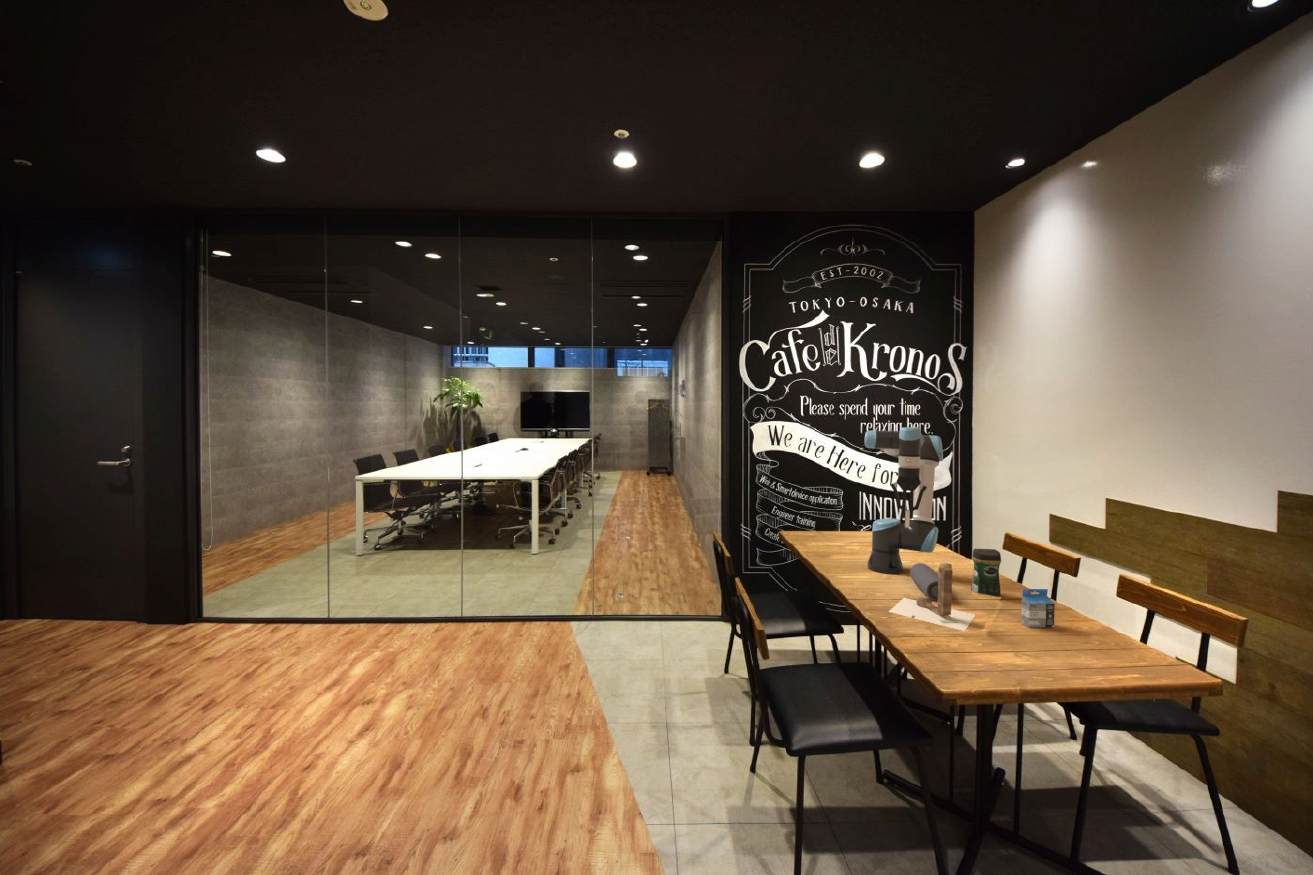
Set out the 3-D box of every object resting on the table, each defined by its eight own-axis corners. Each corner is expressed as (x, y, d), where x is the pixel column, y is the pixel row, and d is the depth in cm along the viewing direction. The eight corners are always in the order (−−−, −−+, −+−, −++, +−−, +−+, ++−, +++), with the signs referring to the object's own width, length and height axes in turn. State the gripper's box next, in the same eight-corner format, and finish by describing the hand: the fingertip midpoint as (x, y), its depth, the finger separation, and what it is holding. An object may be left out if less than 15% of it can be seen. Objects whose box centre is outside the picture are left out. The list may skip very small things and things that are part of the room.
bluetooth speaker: (951, 606, 194) (952, 580, 194) (924, 604, 196) (925, 578, 196) (931, 585, 217) (932, 562, 216) (908, 584, 218) (908, 561, 218)
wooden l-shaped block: (913, 602, 193) (915, 553, 192) (926, 602, 194) (927, 552, 193) (942, 620, 177) (944, 567, 176) (956, 620, 177) (958, 566, 176)
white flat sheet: (888, 615, 185) (888, 611, 185) (903, 601, 199) (903, 597, 199) (964, 635, 169) (964, 630, 169) (975, 618, 183) (975, 614, 182)
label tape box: (1028, 628, 175) (1030, 592, 174) (1020, 623, 179) (1021, 588, 179) (1054, 628, 175) (1056, 592, 174) (1045, 623, 179) (1047, 588, 178)
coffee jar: (993, 591, 209) (995, 547, 208) (1003, 599, 202) (1005, 552, 200) (967, 590, 211) (969, 546, 210) (976, 597, 203) (978, 551, 202)
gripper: (890, 467, 199) (888, 526, 201) (928, 469, 194) (926, 530, 195) (891, 465, 206) (889, 523, 208) (927, 466, 200) (925, 526, 202)
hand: (907, 526), depth 201 cm, fingers closed
